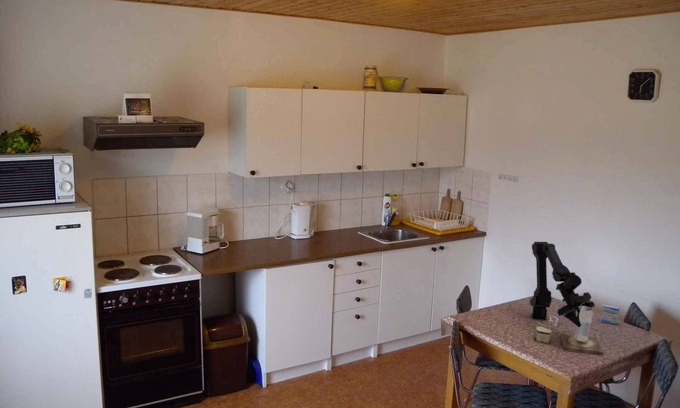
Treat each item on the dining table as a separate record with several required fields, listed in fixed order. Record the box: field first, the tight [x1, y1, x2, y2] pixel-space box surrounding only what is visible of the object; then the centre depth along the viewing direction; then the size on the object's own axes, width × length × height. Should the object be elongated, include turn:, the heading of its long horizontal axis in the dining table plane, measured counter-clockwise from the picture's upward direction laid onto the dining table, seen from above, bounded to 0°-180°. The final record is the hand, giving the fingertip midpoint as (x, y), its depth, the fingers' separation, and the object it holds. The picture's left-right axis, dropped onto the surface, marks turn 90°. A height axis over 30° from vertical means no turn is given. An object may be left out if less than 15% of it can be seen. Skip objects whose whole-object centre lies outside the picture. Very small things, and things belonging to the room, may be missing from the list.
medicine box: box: [600, 303, 621, 326], centre depth 289 cm, size 8×4×9 cm, turn 62°
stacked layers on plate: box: [535, 325, 553, 344], centre depth 264 cm, size 10×9×6 cm
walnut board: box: [559, 333, 604, 356], centre depth 259 cm, size 16×16×2 cm
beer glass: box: [573, 306, 594, 342], centre depth 258 cm, size 7×7×15 cm
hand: (585, 325), depth 257 cm, fingers closed on beer glass, 7 cm apart
